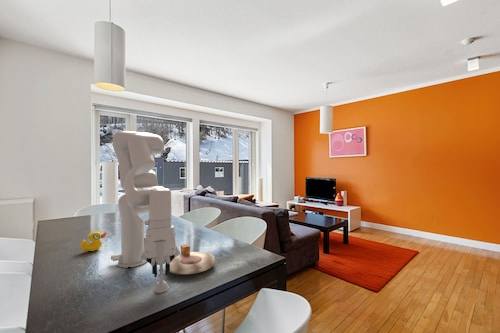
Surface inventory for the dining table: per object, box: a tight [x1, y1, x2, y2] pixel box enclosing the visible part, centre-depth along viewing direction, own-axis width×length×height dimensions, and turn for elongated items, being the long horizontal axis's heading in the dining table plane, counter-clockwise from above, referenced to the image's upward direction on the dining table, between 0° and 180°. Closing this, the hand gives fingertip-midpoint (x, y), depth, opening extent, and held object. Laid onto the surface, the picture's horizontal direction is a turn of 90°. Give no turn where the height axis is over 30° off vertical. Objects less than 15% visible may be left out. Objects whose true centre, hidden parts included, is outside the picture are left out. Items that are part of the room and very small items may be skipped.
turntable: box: [169, 243, 216, 275], centre depth 103 cm, size 20×20×6 cm
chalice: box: [153, 241, 170, 294], centre depth 85 cm, size 7×7×18 cm
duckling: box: [80, 231, 107, 253], centre depth 126 cm, size 11×5×10 cm, turn 126°
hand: (161, 274), depth 85 cm, fingers closed on chalice, 3 cm apart
